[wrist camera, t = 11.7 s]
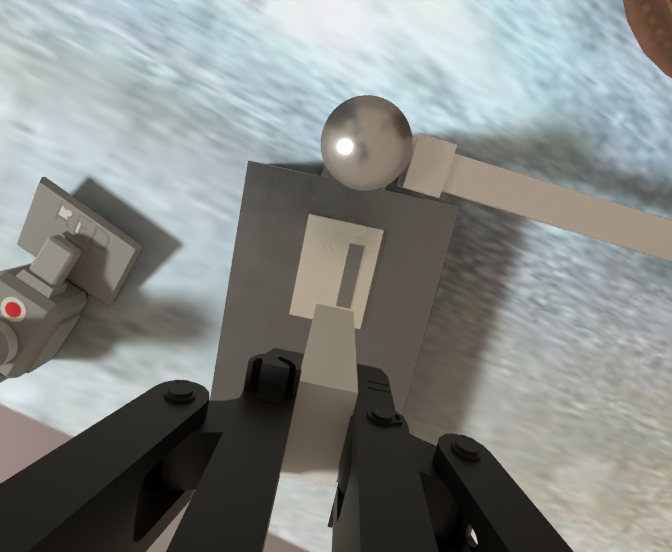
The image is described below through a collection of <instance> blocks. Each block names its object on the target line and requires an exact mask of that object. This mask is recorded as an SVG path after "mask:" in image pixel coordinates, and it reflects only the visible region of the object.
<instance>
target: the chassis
mask: <svg viewBox="0 0 672 552" xmlns="http://www.w3.org/2000/svg"><path fill="white" fill-rule="evenodd" d="M459 208H460V207H459V206H455V205H451V204H447V203H443V202H439V201H434V200H430V199H425V198H421V197H416V196H411V195H407V194H402V193H398V192H393V191H389V190H384V189H376V190H369V191H362V190H356V189H352V188H350V187H347V186H345V185H343V184H342V183H340V182H339V181H338V180H337V179H333V178H328V177H324V176H320V175H315V174H310V173H306V172H301V171H297V170H292V169H287V168H283V167H278V166H274V165H269V164H264V163H259V162H253V161H248V166H247V172H246V178H245V184H244V191H243V197H242V203H241V209H240V216H239V222H238V228H237V234H236V241H235V247H234V253H233V259H232V266H231V272H230V278H229V285H228V291H227V297H226V303H225V310H224V316H223V322H222V328H221V335H220V341H219V347H218V353H217V360H216V366H215V372H214V378H213V385H212V391H211V397H210V401H224V400H232V399H236V398H239V397H240V396H241V394H242V392H243V389H244V383H245V378H246V372H247V366H248V361H249V359H250V358H251V357H253V356H255V355H259V354H266V353H267V352H269V351H270V350H272V349H274V348H278V349H283V350H288V351H293V352H298V353H302V354H304V353H305V349H306V345H307V341H308V337H309V332H310V328H311V324H312V320H313V316H314V311H315V307H316V304H321V305H326V306H330V307H335V308H340V309H345V310H349V311H354V328H355V346H356V363H357V364H361V365H366V366H371V367H376V368H381V369H382V371H383V372H384V373H385V374H386V375H387V376H388V378H389V383H390V387H391V394H392V397H393V402H394V406H395V411H397V412H398V413H399V414H401V415H403V411H404V408H405V404H406V400H407V397H408V393H409V389H410V386H411V382H412V379H413V375H414V371H415V368H416V364H417V360H418V357H419V353H420V349H421V346H422V342H423V339H424V335H425V331H426V328H427V324H428V320H429V317H430V313H431V309H432V306H433V302H434V299H435V295H436V291H437V288H438V284H439V280H440V277H441V273H442V269H443V266H444V262H445V259H446V255H447V251H448V248H449V244H450V240H451V237H452V233H453V229H454V226H455V222H456V218H457V215H458V211H459ZM338 479H339V473H338V477H337V481H336V482H338Z"/></svg>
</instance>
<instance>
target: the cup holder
mask: <svg viewBox="0 0 672 552" xmlns="http://www.w3.org/2000/svg"><path fill="white" fill-rule="evenodd" d="M623 2H624V7H625V12H626V17H627V21H628V24H629V26H630V28H631V30H632V31H633V33H634V35H635V37H636V39H637V41H638V43H639V45H640V47H641V49H642V50H643V52H644V53H645V54H646V55H647V56H648V57H649V58H650V59H651V60H652V61H653V62H654V63H655V64H656V65H657V66H658V67H659V68H660V69H661V70H662V71H663V72H664V73H665V74H666V75H668V76H669V77H671V78H672V0H623Z"/></svg>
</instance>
